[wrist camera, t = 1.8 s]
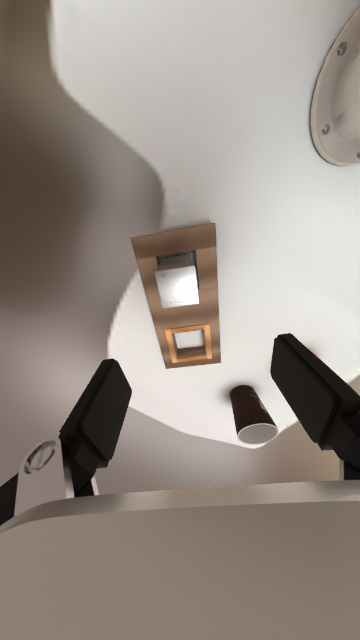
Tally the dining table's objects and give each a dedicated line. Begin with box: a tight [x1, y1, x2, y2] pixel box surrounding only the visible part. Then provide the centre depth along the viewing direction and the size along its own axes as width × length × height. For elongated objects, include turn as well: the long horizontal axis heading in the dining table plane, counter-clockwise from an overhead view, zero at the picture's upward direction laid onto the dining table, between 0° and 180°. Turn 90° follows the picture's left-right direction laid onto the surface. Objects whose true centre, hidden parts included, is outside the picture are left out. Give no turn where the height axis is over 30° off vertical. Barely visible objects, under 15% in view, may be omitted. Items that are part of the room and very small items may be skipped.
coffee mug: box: [230, 385, 279, 444], centre depth 39 cm, size 12×9×10 cm
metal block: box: [155, 254, 199, 308], centre depth 23 cm, size 4×4×10 cm
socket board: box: [131, 223, 221, 369], centre depth 29 cm, size 26×12×3 cm, turn 9°
